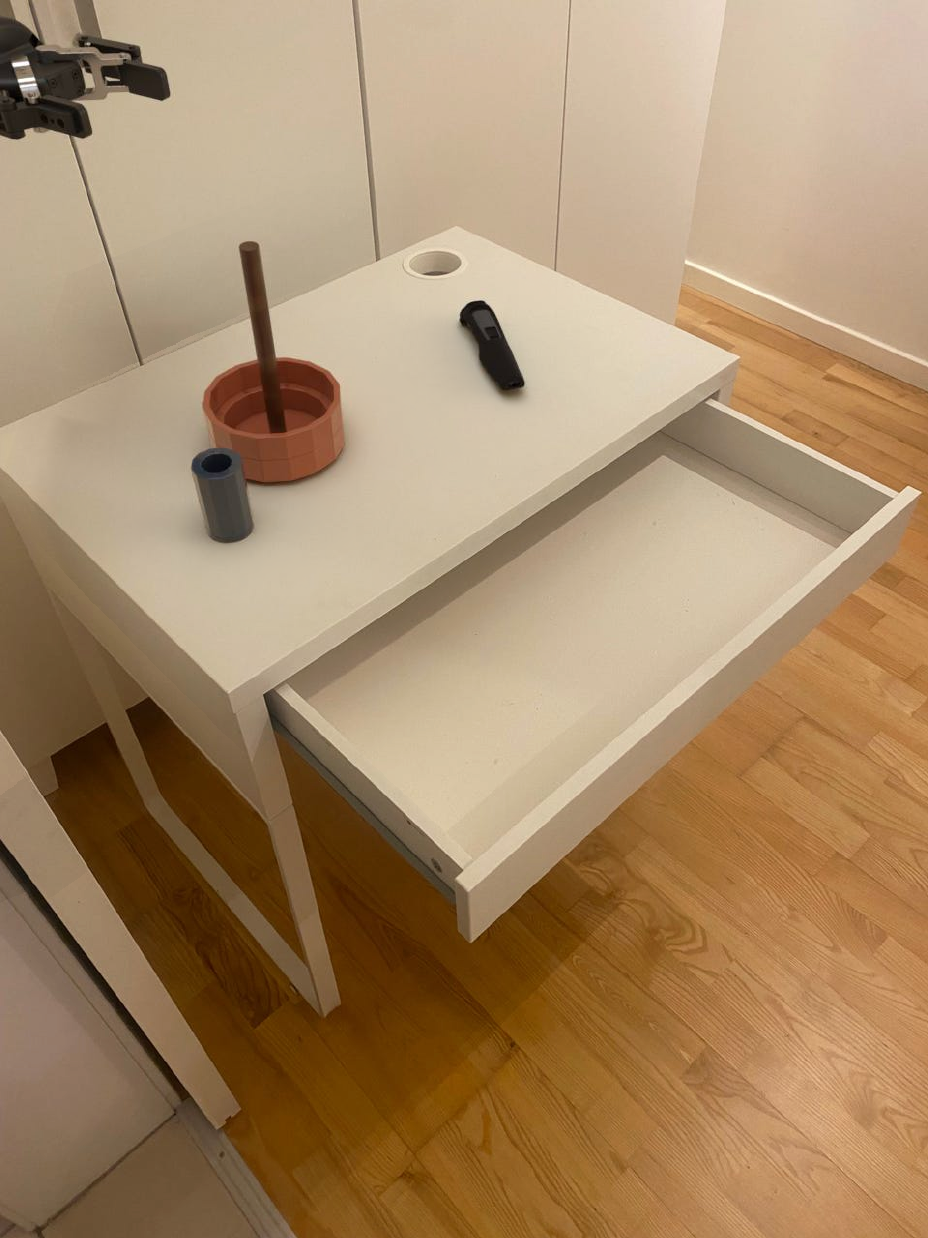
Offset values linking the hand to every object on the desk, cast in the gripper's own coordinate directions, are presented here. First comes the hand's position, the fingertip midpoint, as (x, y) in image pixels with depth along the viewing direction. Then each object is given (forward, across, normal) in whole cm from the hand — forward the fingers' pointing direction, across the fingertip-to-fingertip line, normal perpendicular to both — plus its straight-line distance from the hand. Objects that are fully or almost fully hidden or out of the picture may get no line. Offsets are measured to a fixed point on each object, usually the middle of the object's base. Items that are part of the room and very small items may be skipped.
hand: (127, 102), depth 71 cm
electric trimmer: (+20, +24, +29) cm, 42 cm away
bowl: (+9, +1, +29) cm, 30 cm away
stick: (+9, +1, +28) cm, 29 cm away
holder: (+12, -11, +29) cm, 33 cm away
